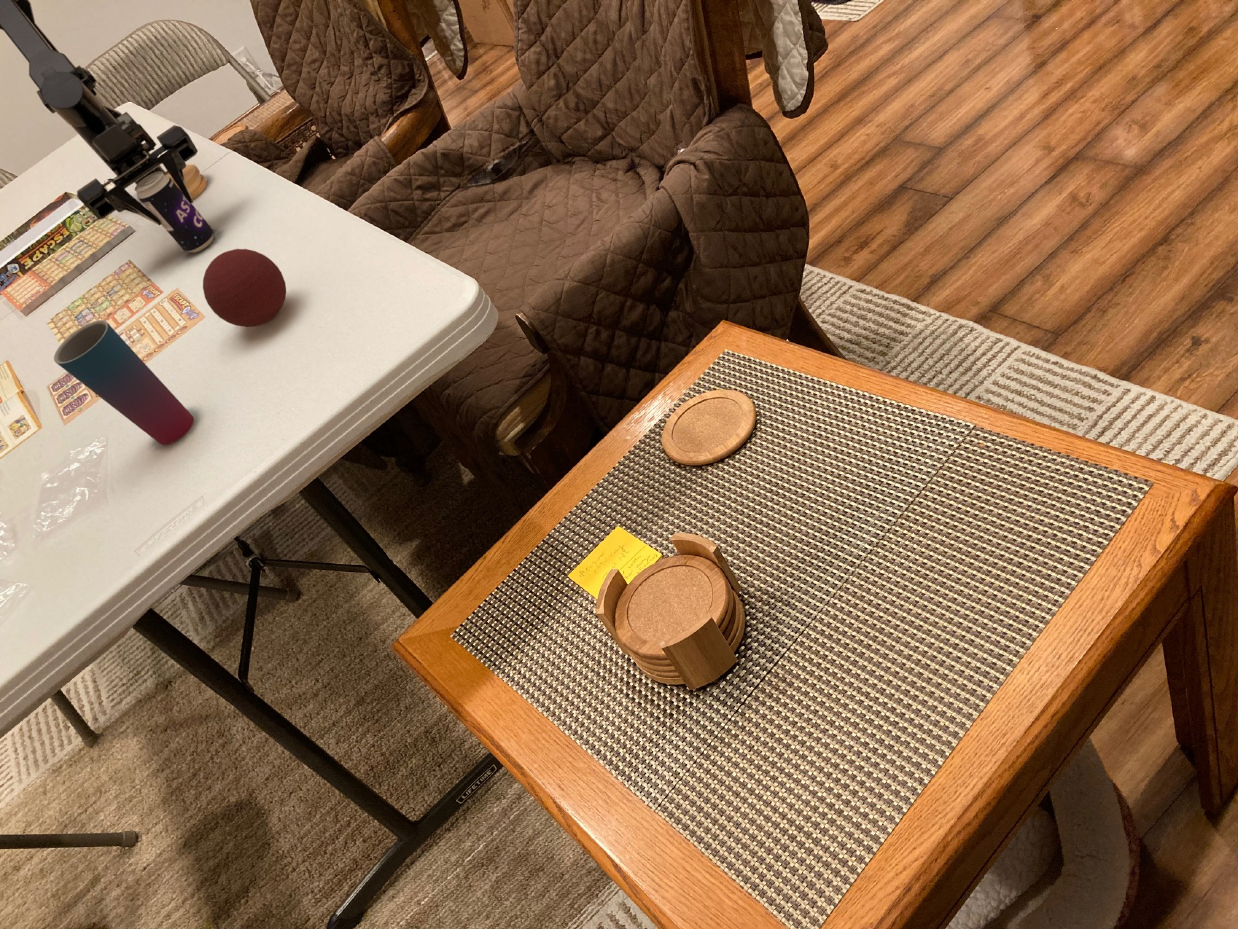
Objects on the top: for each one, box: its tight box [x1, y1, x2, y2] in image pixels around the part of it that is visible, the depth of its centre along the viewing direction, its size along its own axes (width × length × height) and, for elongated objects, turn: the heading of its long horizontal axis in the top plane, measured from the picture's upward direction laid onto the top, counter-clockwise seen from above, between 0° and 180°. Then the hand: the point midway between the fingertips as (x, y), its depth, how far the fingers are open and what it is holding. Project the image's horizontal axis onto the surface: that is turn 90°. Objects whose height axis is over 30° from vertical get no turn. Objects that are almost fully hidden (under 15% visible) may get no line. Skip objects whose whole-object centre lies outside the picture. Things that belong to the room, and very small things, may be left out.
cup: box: [53, 319, 195, 446], centre depth 101 cm, size 7×7×15 cm
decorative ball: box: [202, 248, 287, 328], centre depth 113 cm, size 10×10×10 cm
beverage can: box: [134, 172, 215, 253], centre depth 136 cm, size 6×6×12 cm
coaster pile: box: [166, 164, 208, 201], centre depth 157 cm, size 10×10×3 cm
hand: (175, 212), depth 135 cm, fingers closed on beverage can, 5 cm apart
